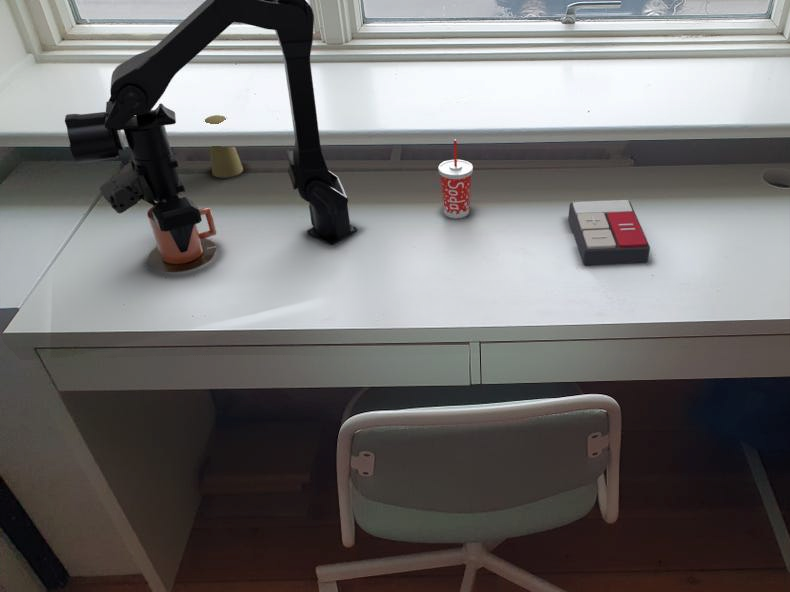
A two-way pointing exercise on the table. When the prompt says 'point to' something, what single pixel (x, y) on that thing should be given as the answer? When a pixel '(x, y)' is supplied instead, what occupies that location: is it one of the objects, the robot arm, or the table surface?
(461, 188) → the beverage cup
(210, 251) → the coaster
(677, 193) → the table surface
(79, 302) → the table surface
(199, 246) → the mug
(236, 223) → the table surface
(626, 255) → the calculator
